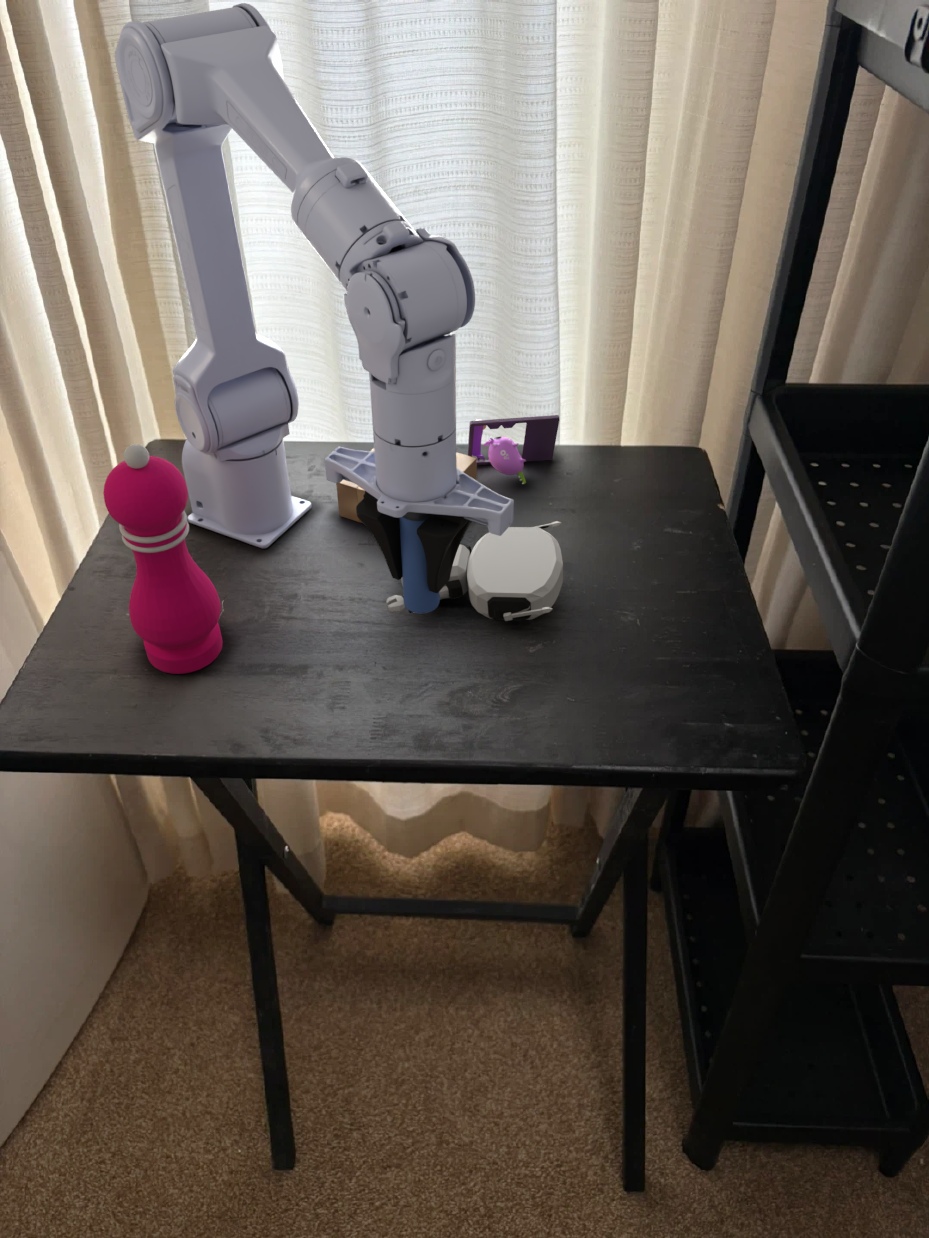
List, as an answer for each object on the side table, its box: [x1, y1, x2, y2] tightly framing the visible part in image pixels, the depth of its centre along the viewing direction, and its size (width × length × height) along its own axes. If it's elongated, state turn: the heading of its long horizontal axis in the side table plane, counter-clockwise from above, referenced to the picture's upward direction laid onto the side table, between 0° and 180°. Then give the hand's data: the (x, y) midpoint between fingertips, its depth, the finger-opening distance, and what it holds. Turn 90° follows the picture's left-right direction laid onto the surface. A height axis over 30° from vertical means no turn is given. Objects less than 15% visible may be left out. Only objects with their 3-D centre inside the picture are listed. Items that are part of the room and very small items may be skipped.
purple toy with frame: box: [467, 414, 560, 485], centre depth 104 cm, size 7×5×9 cm
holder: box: [335, 447, 478, 524], centre depth 101 cm, size 10×10×4 cm
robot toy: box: [385, 520, 564, 622], centre depth 91 cm, size 12×4×15 cm
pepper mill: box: [103, 443, 224, 675], centre depth 80 cm, size 7×7×20 cm
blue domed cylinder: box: [399, 512, 440, 614], centre depth 78 cm, size 3×3×10 cm
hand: (420, 578), depth 79 cm, fingers closed on blue domed cylinder, 3 cm apart
